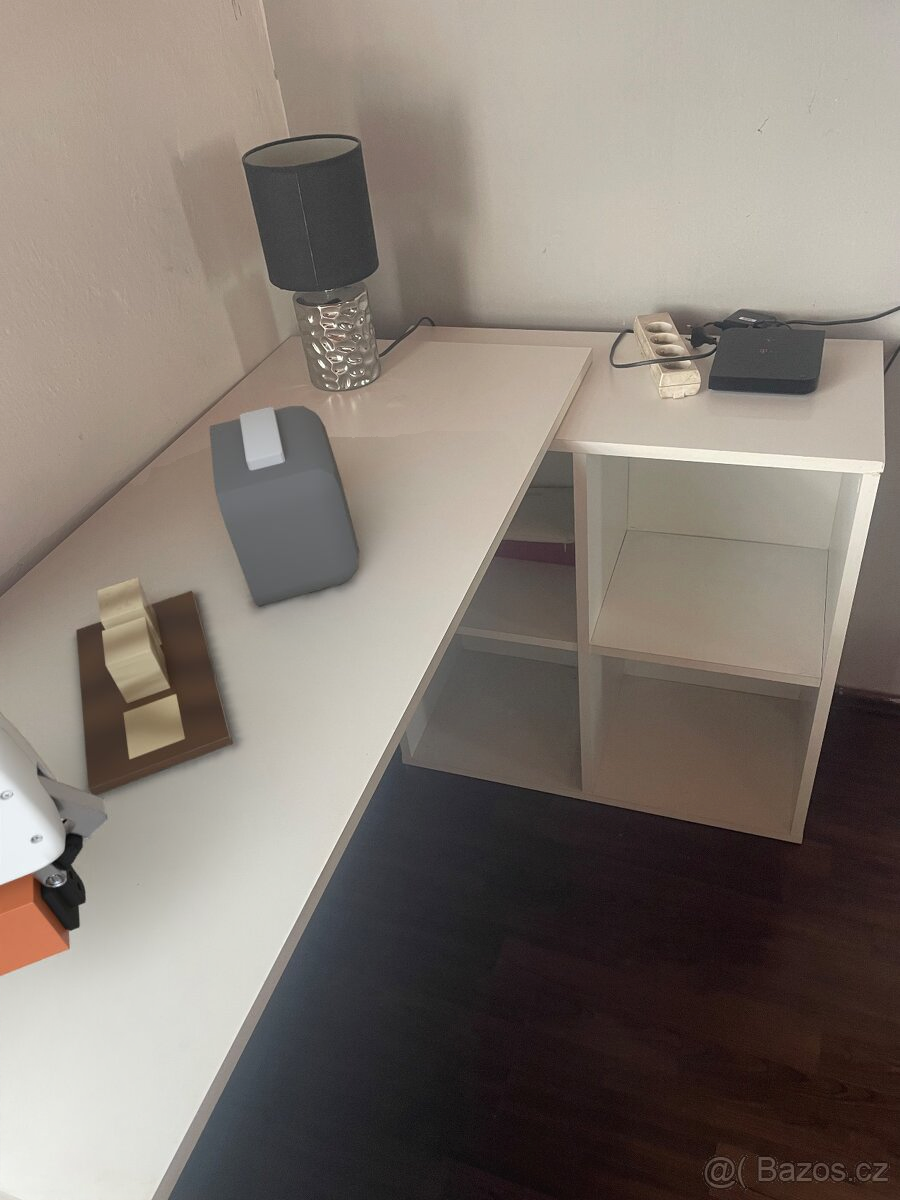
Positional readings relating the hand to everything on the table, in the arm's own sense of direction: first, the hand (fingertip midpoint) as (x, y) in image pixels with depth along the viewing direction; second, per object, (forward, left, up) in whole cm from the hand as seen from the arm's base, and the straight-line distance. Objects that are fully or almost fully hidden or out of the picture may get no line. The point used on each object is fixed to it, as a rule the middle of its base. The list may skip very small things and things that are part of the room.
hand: (32, 923), depth 51 cm
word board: (+16, +26, -11) cm, 32 cm away
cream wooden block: (+16, +26, -10) cm, 32 cm away
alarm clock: (+37, +31, -11) cm, 49 cm away
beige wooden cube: (+18, +32, -10) cm, 38 cm away
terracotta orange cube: (0, 0, 0) cm, 0 cm away
